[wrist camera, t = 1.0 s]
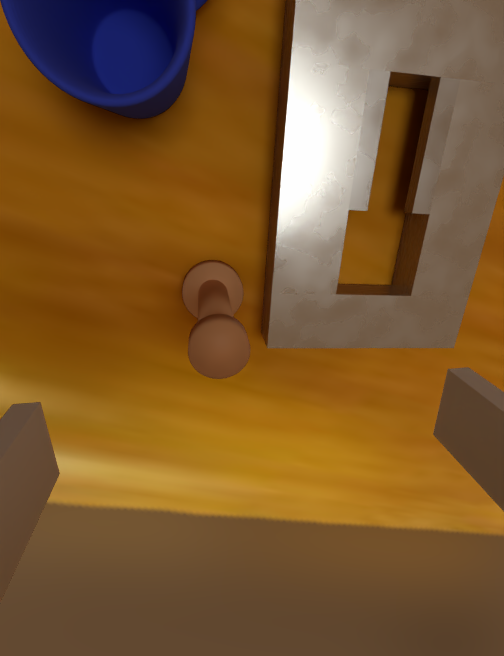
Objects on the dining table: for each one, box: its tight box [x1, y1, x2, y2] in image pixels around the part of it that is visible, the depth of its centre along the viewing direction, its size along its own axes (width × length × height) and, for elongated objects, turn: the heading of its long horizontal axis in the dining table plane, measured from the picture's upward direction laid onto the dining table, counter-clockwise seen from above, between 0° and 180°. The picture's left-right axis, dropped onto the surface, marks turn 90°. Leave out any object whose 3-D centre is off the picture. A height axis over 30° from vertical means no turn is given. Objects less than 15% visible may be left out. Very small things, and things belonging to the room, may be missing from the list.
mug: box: [0, 0, 207, 118], centre depth 20 cm, size 8×12×10 cm
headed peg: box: [182, 260, 250, 379], centre depth 26 cm, size 5×5×12 cm
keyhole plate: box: [261, 0, 504, 348], centre depth 28 cm, size 26×17×3 cm, turn 177°
